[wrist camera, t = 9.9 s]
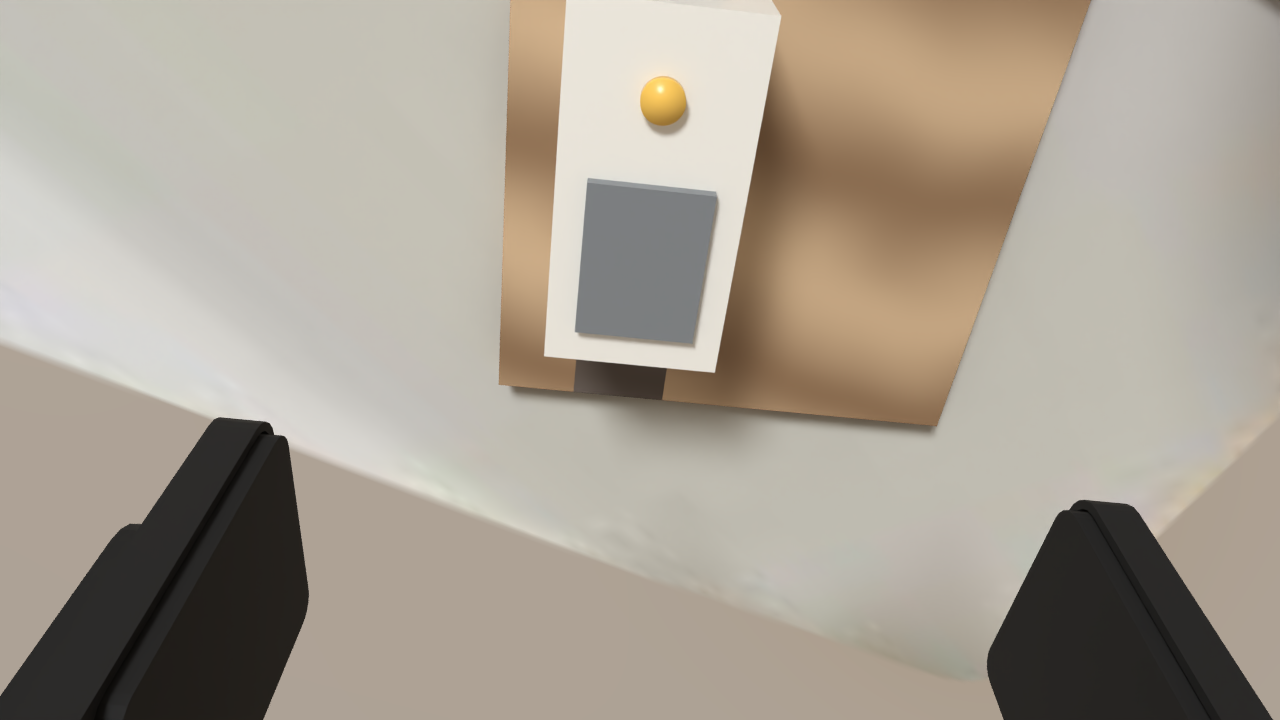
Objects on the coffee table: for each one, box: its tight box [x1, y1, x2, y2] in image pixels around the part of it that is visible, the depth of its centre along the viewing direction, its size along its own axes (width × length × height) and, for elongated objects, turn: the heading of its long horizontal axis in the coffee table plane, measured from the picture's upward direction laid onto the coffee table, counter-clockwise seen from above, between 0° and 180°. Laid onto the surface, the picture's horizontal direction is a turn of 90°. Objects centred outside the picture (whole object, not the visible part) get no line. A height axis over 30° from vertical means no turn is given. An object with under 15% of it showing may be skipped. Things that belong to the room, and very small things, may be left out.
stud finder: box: [544, 0, 781, 373], centre depth 23 cm, size 9×4×5 cm, turn 174°
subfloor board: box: [499, 0, 1091, 426], centre depth 26 cm, size 18×15×1 cm
